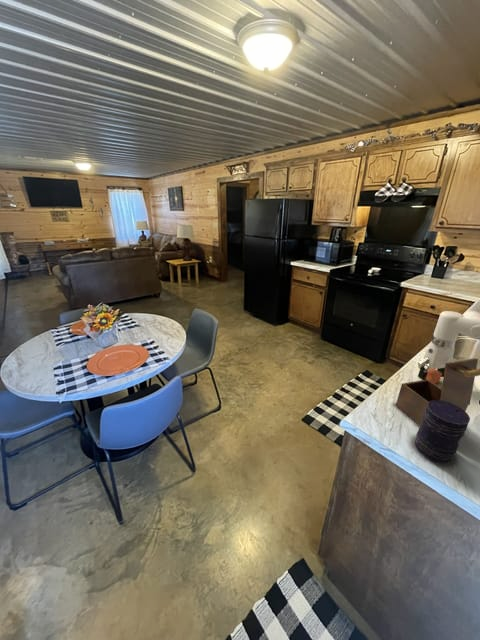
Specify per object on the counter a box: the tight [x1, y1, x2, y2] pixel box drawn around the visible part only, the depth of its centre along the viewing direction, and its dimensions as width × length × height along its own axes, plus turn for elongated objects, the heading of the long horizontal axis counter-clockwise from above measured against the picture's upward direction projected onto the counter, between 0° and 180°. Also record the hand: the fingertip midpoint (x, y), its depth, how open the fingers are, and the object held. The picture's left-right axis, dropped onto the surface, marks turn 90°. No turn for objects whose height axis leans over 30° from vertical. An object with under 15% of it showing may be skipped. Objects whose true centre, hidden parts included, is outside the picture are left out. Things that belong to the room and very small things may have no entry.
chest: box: [395, 379, 469, 427], centre depth 91 cm, size 15×12×10 cm
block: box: [426, 368, 442, 384], centre depth 112 cm, size 5×5×5 cm
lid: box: [440, 357, 480, 407], centre depth 79 cm, size 16×12×5 cm
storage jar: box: [413, 400, 471, 465], centre depth 77 cm, size 10×10×15 cm
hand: (430, 376), depth 112 cm, fingers open, 9 cm apart
